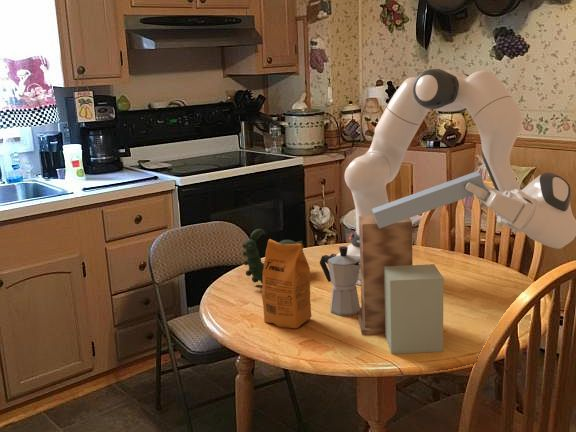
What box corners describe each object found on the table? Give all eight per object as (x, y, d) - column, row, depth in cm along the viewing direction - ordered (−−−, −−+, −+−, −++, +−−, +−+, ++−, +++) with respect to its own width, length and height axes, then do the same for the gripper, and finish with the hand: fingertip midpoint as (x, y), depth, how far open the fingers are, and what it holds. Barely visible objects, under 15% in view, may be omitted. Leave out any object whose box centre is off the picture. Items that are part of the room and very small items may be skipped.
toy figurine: (264, 298, 196) (316, 267, 214) (256, 237, 190) (310, 211, 208) (241, 291, 202) (294, 262, 220) (232, 233, 196) (287, 208, 214)
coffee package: (280, 309, 182) (276, 233, 176) (317, 318, 174) (313, 239, 169) (257, 322, 174) (252, 243, 169) (294, 332, 167) (290, 249, 161)
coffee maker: (373, 310, 178) (372, 247, 173) (352, 320, 172) (350, 255, 168) (332, 298, 188) (330, 238, 184) (311, 307, 182) (308, 245, 178)
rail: (379, 228, 154) (373, 213, 153) (377, 223, 158) (371, 208, 157) (485, 190, 151) (481, 174, 150) (481, 186, 155) (476, 171, 154)
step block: (391, 353, 152) (390, 280, 148) (385, 335, 162) (384, 266, 157) (443, 351, 152) (443, 278, 147) (433, 333, 161) (434, 264, 157)
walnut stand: (361, 334, 163) (358, 226, 156) (357, 317, 174) (354, 215, 167) (418, 331, 163) (417, 223, 156) (410, 314, 174) (409, 212, 167)
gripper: (505, 188, 164) (458, 163, 162) (536, 206, 144) (482, 178, 142) (492, 210, 165) (445, 185, 163) (521, 231, 145) (467, 204, 144)
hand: (462, 182), depth 153 cm, fingers closed on rail, 4 cm apart
